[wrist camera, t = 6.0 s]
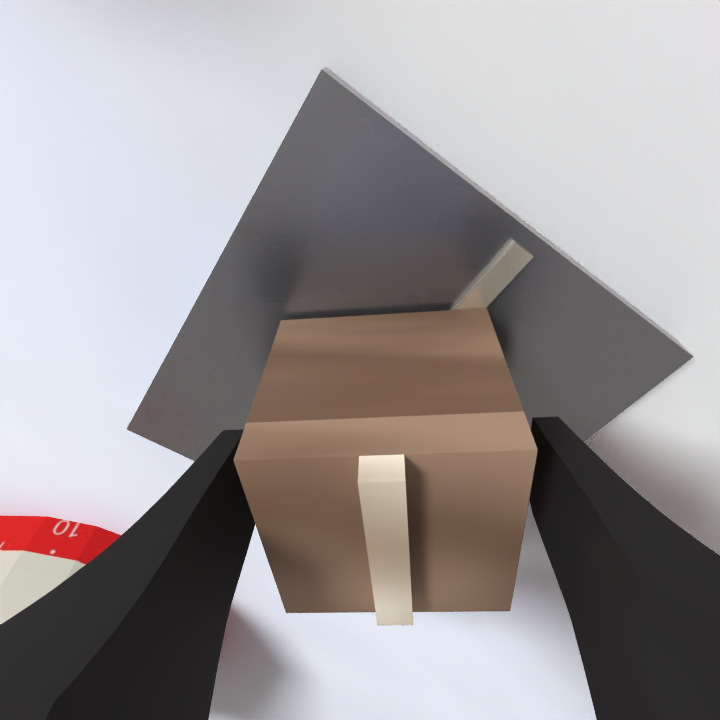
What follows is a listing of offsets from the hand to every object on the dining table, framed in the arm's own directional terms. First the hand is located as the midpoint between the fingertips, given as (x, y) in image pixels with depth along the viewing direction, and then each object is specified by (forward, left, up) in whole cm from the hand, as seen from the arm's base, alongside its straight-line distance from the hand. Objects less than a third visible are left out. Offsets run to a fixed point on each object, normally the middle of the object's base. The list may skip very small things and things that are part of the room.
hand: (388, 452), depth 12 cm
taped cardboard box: (0, 0, -2) cm, 2 cm away
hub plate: (0, 0, -3) cm, 3 cm away
